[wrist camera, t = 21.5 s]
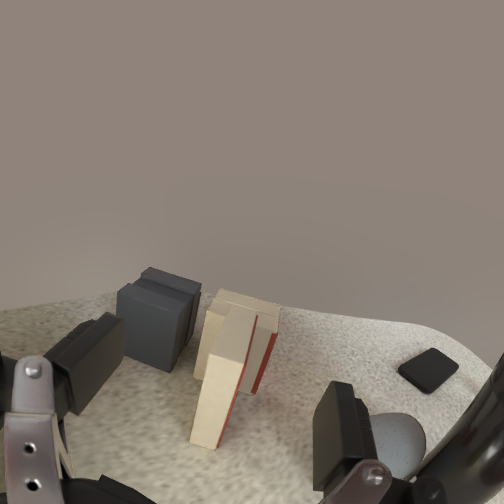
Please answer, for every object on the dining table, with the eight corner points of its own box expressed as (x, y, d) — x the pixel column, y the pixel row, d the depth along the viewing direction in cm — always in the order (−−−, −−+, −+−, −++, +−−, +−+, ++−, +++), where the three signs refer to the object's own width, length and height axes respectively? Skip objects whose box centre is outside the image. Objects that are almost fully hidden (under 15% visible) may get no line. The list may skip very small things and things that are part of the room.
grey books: (193, 333, 39) (203, 280, 37) (170, 373, 31) (179, 313, 28) (146, 317, 40) (152, 264, 37) (115, 351, 31) (117, 291, 29)
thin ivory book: (232, 395, 30) (259, 311, 27) (217, 451, 22) (246, 365, 19) (209, 389, 30) (231, 303, 27) (188, 443, 23) (209, 353, 19)
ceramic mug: (402, 486, 20) (447, 439, 18) (337, 513, 17) (384, 468, 15) (356, 421, 30) (386, 371, 27) (294, 431, 27) (323, 378, 25)
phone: (397, 366, 41) (433, 346, 49) (394, 370, 41) (431, 349, 49) (431, 392, 35) (460, 365, 43) (428, 396, 35) (458, 369, 43)
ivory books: (262, 356, 38) (282, 297, 36) (254, 396, 31) (278, 331, 28) (209, 341, 39) (224, 280, 36) (192, 377, 31) (206, 310, 29)
